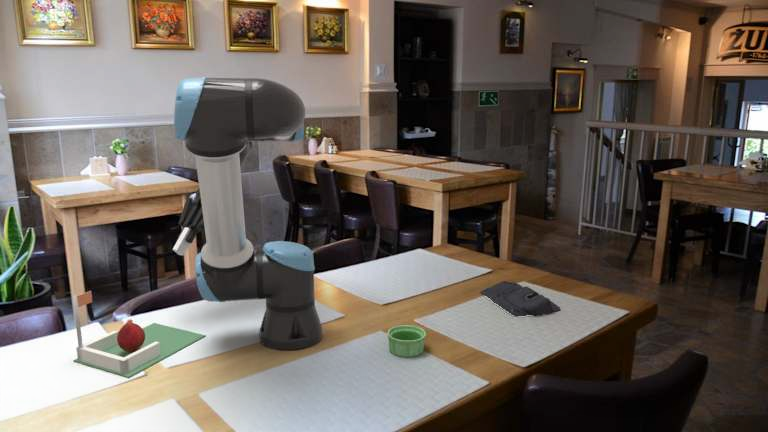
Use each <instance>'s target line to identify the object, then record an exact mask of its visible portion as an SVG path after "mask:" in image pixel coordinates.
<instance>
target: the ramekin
mask: <svg viewBox="0 0 768 432" xmlns="http://www.w3.org/2000/svg"><path fill="white" fill-rule="evenodd" d="M386 334H387V339H388V349H389V352H390V353H391V352H392V353H391V354H393V355H394V354H395V356H397V357H401V358H413V357H416V356H418V355H421V354H422V353H423V352H424V348H425V338H426V337H427V333H426V331H425V329H423V328H422V327H419V326H416V325H412V324H410V325H409V324H403V325H396V326H393V327H391V328H389V329H388V330H387V333H386Z"/></svg>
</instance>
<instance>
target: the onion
mask: <svg viewBox="0 0 768 432" xmlns="http://www.w3.org/2000/svg"><path fill="white" fill-rule="evenodd" d="M142 328H143V327H141V326H140V325H139V324H137V323H134V322H133V319H131V318H130V319H129V318H128V319H127V320H126V323H125V324H124V325H122V326H121V328H120V329H119V330H118V331H117V332H118V335H117V342H118V345H119V346H120V348H121V349H123V350H125V351H127V352H131V353H134V352H136V351H137V350H138V349H139V348H140V347H141V346H142V345H143V343H144V340H145V332H144V330H143V329H142Z"/></svg>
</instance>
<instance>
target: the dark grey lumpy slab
mask: <svg viewBox="0 0 768 432" xmlns="http://www.w3.org/2000/svg"><path fill="white" fill-rule="evenodd" d="M480 293H481V294H482V295H485V296H487V297H488V298H490V299H491V300H492V301H493V302H494V303H496V304H498V305H499V306H501V307H502V308H503V309H505V310H506V311H508V312H509V313H511V314H512V315H514V316H516V317H518V316H526V315H535V316H534V317H538V316H537V315H541V316H544V315H543V314H546V315H550V314H553V313H555V312H556V311H558V312H559V311H561V308H560V306H558V304H556V303H555V302H553V301H551V299H550V298H547V297H546V296H544V295H543V294H540V293H539V292H537V291H536V290H534V289H532V288H530V287H528V286H522V285H521V284H519V283H517V282H514V281H506V280H503V281H500V282H498V283H496V284H493V285H492V286H489V287H487V288H484V289H482V290H481V291H480V292H479V294H480ZM481 294H480V295H481ZM494 303H493V304H494ZM503 309H502V310H503ZM506 311H505V312H506ZM509 313H508V314H509ZM549 313H550V314H549ZM512 315H511V316H512ZM514 316H513V317H514Z"/></svg>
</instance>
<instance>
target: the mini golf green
mask: <svg viewBox="0 0 768 432" xmlns="http://www.w3.org/2000/svg"><path fill="white" fill-rule="evenodd" d="M72 301H73V310H74V311H73V312H74V319H75V325H76V326H75V328H76V335H77V336H76V337H77V344H78V346H77V347H76V354H77V355H76V356H77V358H78V360H79V361H83V362H86V363H89V364H93V365H96V366H99V367H103V368H106V369H109V370H113V371H116V372H119V373H123V374H125V373H127V372H129V371H131V370H133V369H135V368H137V367H139V366H140V365H142V364H144V363H146V362H148V361H150V360H152V359H154V358H156V357H157V356H159V355H161V351H160V342H154V343H152V344H150V345H148V346H146V347H144V348H142V349H140V350H138V351H136V352H134V353H132V354H130V355H128V356H126V357H120V356H117V355H113V354H110V353H106V352H103V351H104V350H107V349H109V348H111V347H113V346H115V345H117V344H118V342H117V335H118V332H119V331H117V330H113V331H111V332H108V333H105V334H104V335H101V336H100V337H97V338H95V339H93V340H90V341H88V342H86V343H84V344H83V338H82V331H81V330H82V328H81V322H80V321H81V319H80V312H79V308H80V307H83V306H86V305H88V304H91V303H93V295H92V290H89V291H87V292H83V293H82V294H78V295H76V294H74V295H72Z"/></svg>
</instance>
